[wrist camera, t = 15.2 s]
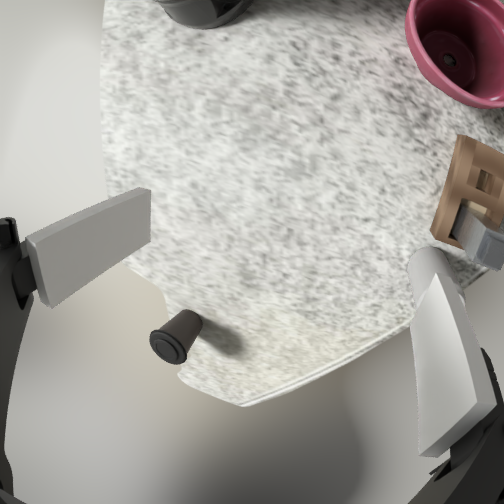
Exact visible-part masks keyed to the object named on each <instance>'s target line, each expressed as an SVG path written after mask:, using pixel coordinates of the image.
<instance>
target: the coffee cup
mask: <svg viewBox="0 0 504 504" xmlns="http://www.w3.org/2000/svg"><path fill="white" fill-rule="evenodd" d="M202 325H203V324H202V320H201V318H200V317H199V316H198V315H197V314H196V313H195V312H193V311H191V310H187V309H186V310H183V311H181V312H180V313H179V314H177V315H176V316H175V317H173V318H172V319H171V320H170V321H168V322H167V323H166V324H165V325H163V326H162V327H161V328H160V329H159V330H154V331H152V332H151V334H150V345H151V347H152V349H153V350H154V352H155V353H156V354H157V355H158V356H159V357H160V358H161V359H163V360H164V361H166V362H168V363H171V364H176V365H177V364H182V363H184V362H185V361H186V359H187V353H188V351H189V350H190V348H191V346H192V344H193V343H194V341H195V339H196V337H197V336H198V334H199V332H200V330H201V328H202Z"/></svg>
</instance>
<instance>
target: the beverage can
mask: <svg viewBox="0 0 504 504" xmlns="http://www.w3.org/2000/svg"><path fill="white" fill-rule="evenodd" d="M436 272H437V273H440V274H443V275H446V276H448V277H451V279H452V281H453V283H454V285H455V287H456V290H457V292H458V294H459V296H460V298H461V301H462V303H463V305H464V308H465V294H464V292H463V289H462V287H461V285H460V283H459V281H458V279H457V277H456V275H455V273H454V271H453V269H452V268H451V266H450V264H449V262H448V260H447V258H446V256H445V255H444V253H443V252H442V251H441V250H439V249H437V248H435V247H424V248H421V249H419V250H418V251H416V252H415V253H414V254H413V255H412V256H411V258H410V260H409V262H408V266H407V273H408V277H409V281H410V285H411V289H412V294H413V298H414V303H415V307H416V312H417V310H418V308H419V306H420V304H421V302H422V300H423V298H424V296H425V294H426V292H427V290H428V288H429V286H430V284H431V282H432V280H433V278H434V276H435V273H436Z"/></svg>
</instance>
